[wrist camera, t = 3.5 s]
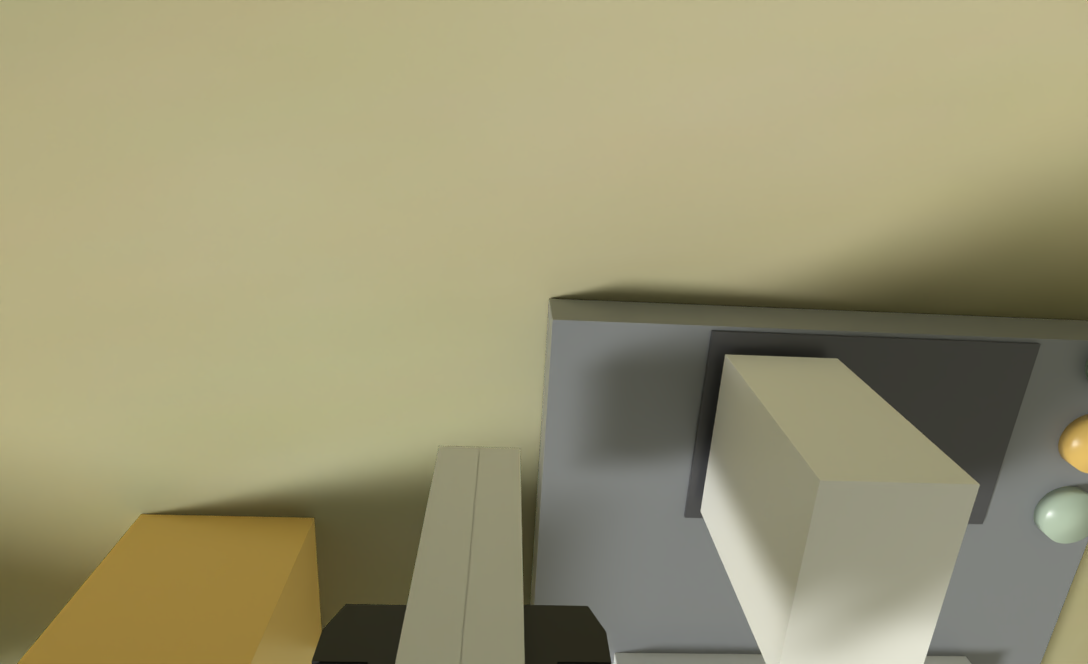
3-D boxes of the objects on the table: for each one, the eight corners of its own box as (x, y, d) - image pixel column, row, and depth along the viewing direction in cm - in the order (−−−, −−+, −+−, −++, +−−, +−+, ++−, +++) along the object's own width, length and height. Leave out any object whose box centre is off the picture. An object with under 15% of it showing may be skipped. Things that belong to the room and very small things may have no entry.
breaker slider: (725, 354, 15) (820, 480, 11) (837, 358, 15) (980, 484, 11) (700, 511, 17) (775, 684, 12) (804, 513, 17) (917, 685, 12)
